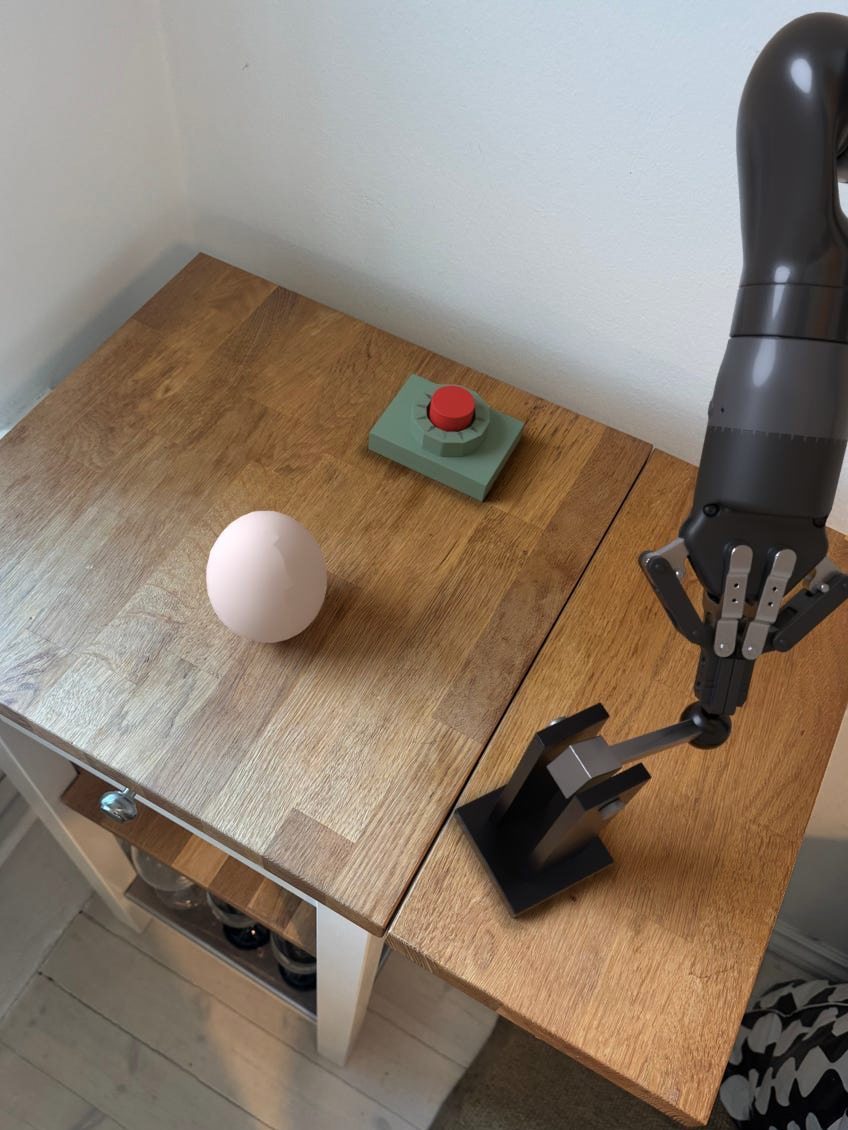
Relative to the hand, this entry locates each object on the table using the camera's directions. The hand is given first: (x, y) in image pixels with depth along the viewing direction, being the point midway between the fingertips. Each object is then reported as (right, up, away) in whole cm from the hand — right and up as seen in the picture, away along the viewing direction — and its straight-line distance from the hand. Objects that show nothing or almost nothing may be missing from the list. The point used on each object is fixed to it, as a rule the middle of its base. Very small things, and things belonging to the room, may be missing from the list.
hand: (716, 710), depth 57 cm
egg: (-29, +6, +14) cm, 33 cm away
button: (-15, +23, +20) cm, 34 cm away
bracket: (-10, -10, +7) cm, 16 cm away
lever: (-5, -3, -1) cm, 6 cm away
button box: (-15, +21, +23) cm, 35 cm away
